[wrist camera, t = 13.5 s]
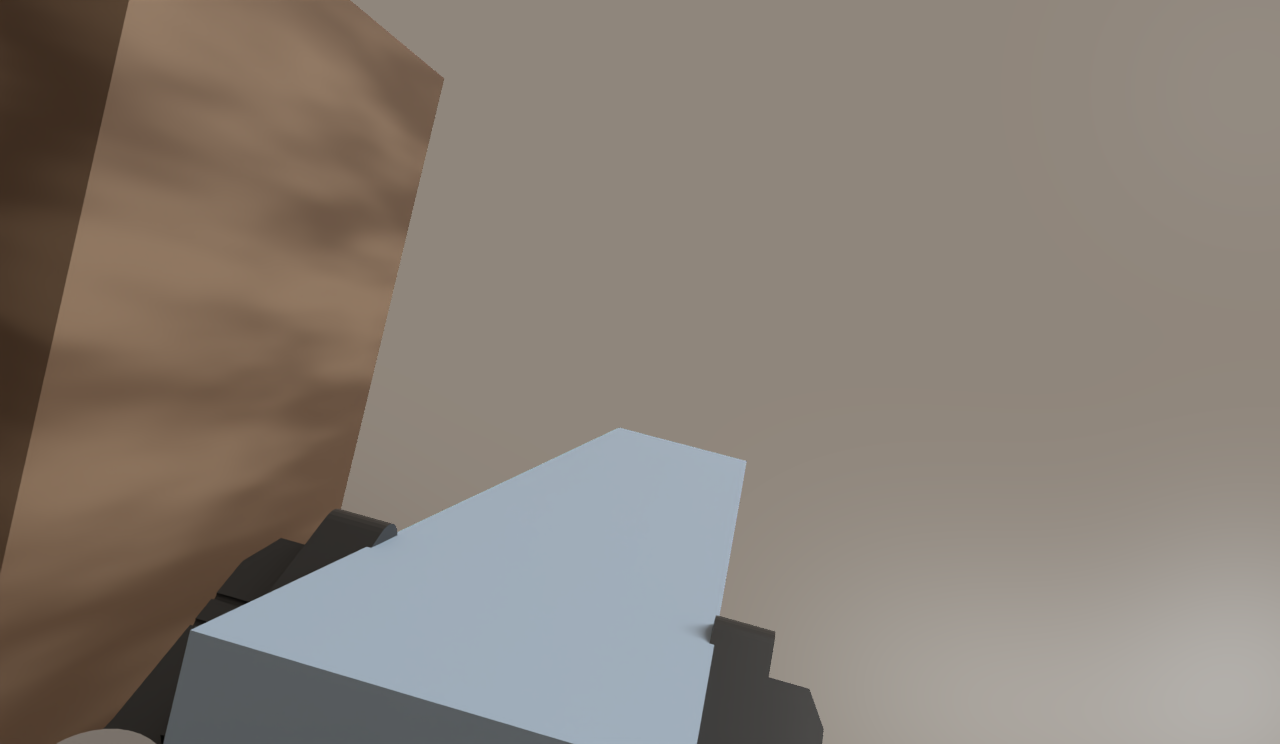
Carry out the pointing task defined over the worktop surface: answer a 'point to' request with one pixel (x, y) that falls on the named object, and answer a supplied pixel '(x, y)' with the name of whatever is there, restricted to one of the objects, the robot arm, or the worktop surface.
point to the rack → (181, 312)
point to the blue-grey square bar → (492, 617)
